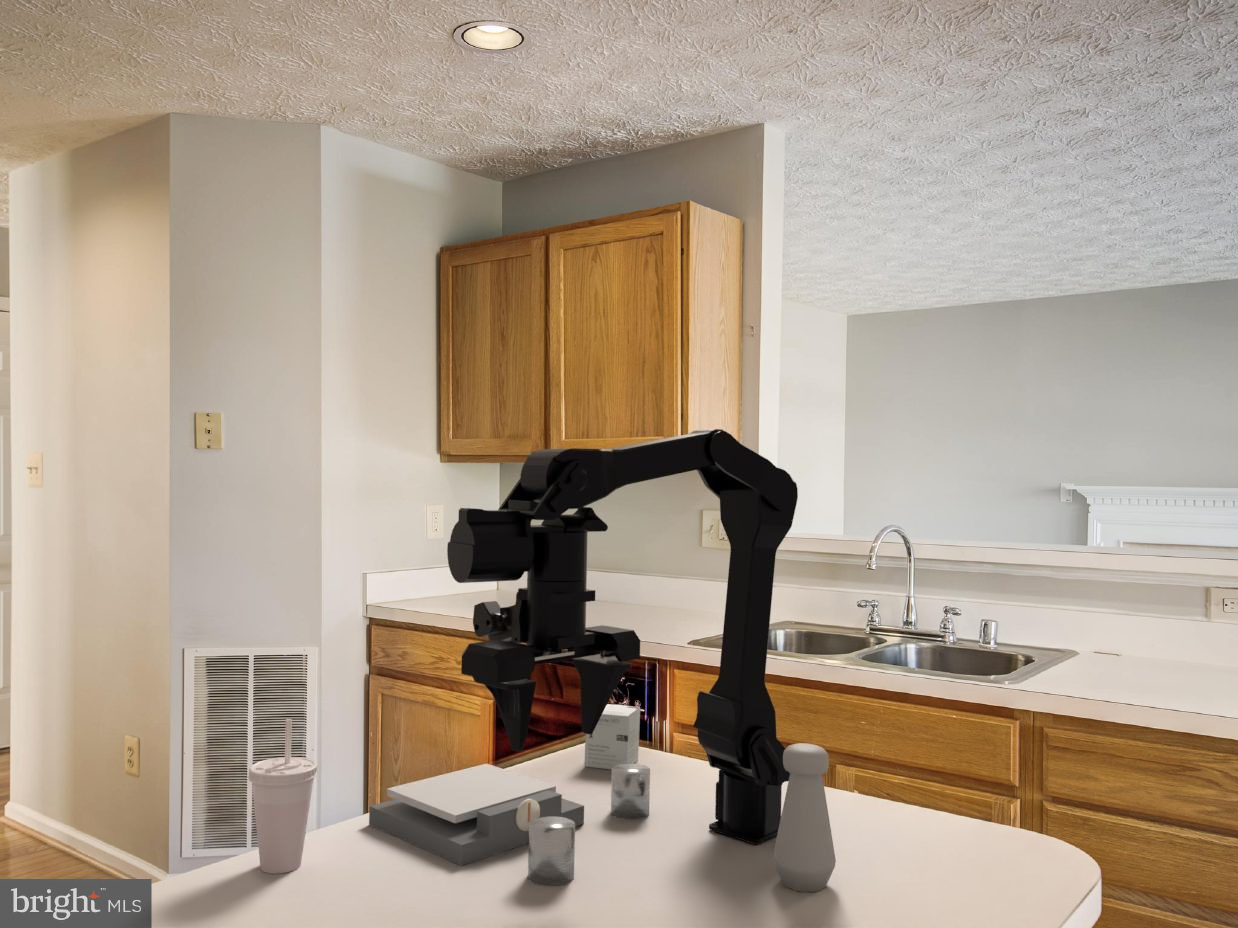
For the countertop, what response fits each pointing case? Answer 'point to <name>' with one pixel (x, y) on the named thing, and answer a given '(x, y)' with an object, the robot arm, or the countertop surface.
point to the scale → (470, 812)
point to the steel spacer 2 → (630, 791)
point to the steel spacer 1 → (551, 851)
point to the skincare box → (614, 738)
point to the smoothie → (282, 807)
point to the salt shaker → (805, 822)
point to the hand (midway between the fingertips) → (553, 741)
